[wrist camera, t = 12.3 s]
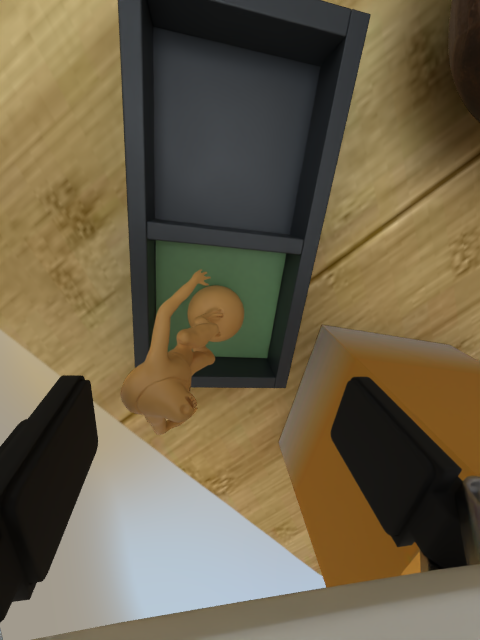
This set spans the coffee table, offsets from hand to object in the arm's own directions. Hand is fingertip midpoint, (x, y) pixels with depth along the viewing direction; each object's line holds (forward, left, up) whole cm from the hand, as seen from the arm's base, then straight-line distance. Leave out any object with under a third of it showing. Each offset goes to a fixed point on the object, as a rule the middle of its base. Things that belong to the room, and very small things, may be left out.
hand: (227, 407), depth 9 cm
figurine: (-1, 0, -12) cm, 12 cm away
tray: (0, +5, -12) cm, 13 cm away
